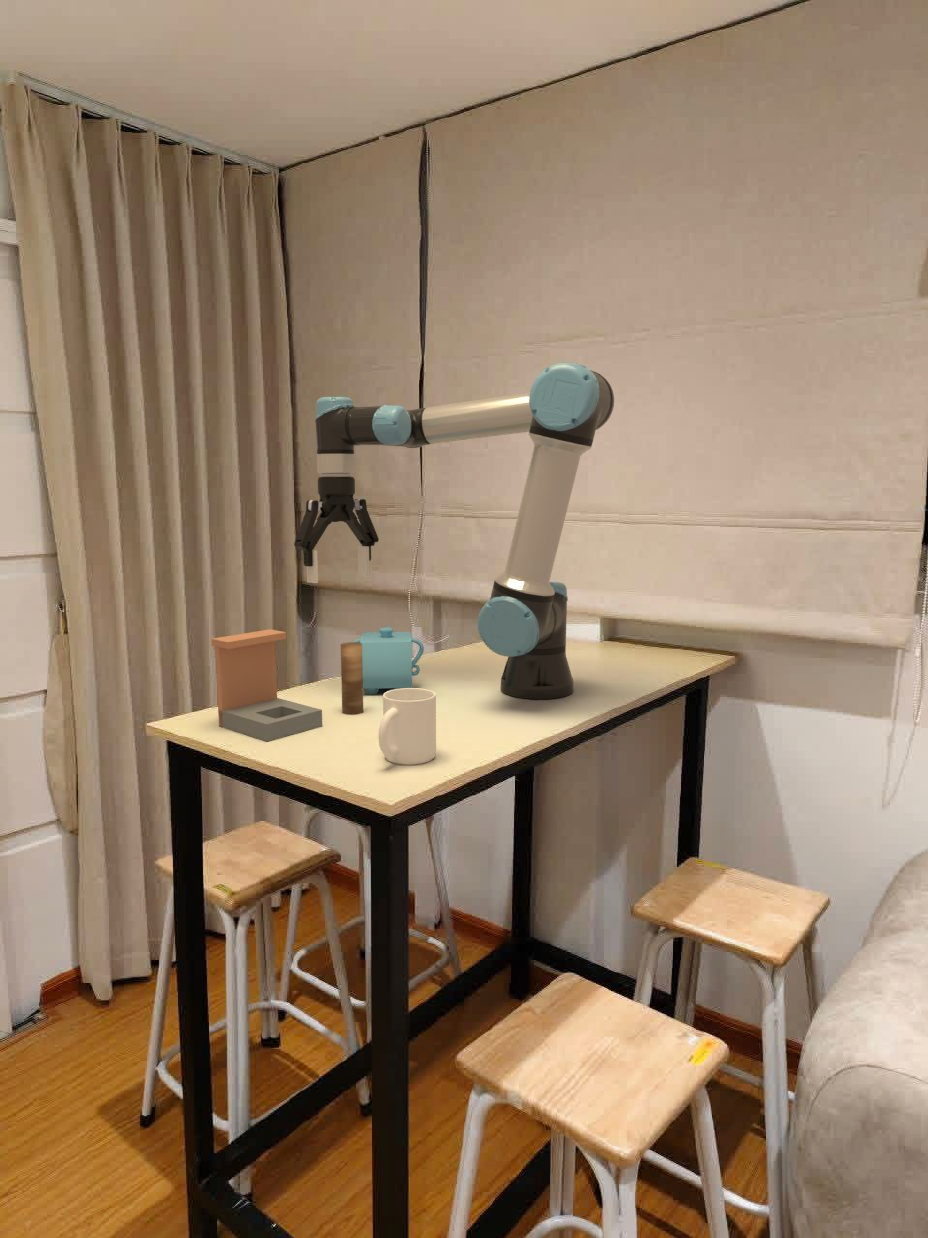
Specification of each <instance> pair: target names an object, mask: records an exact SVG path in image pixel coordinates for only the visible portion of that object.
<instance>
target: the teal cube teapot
mask: <svg viewBox="0 0 928 1238" xmlns="http://www.w3.org/2000/svg"><path fill="white" fill-rule="evenodd" d="M378 630H379V631H363V632H362V633H361V637H360V638H356V639H354V640H352V642H357V643H362V664H363V690H364V689H366V690H365V692H364V694H367V695H376V694H378V692H379V689H401V688H413V677H416V676H418V675H419V674H420V673H421V672H420V671H421V669H420V667H419V666H420V665H418V664H417V663H418V661H419V660H420V659H421V657H422V656H423V655H424V649H425V647H424V644H423V642H422V641H421V640H420V639H419V638H416V637H412V631H394V628H392V627H391V626H390V625H385V626H384V627H380V628H379V629H378ZM412 643H415V644H416V645H418V646H419V650H418V651H417V654H416V655H415V657H414V658H413V656H412V655H413V654H412V649H413V648H412V647H413V646H412ZM414 668H415V669H416V670H415V671H413V669H414Z"/></svg>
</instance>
